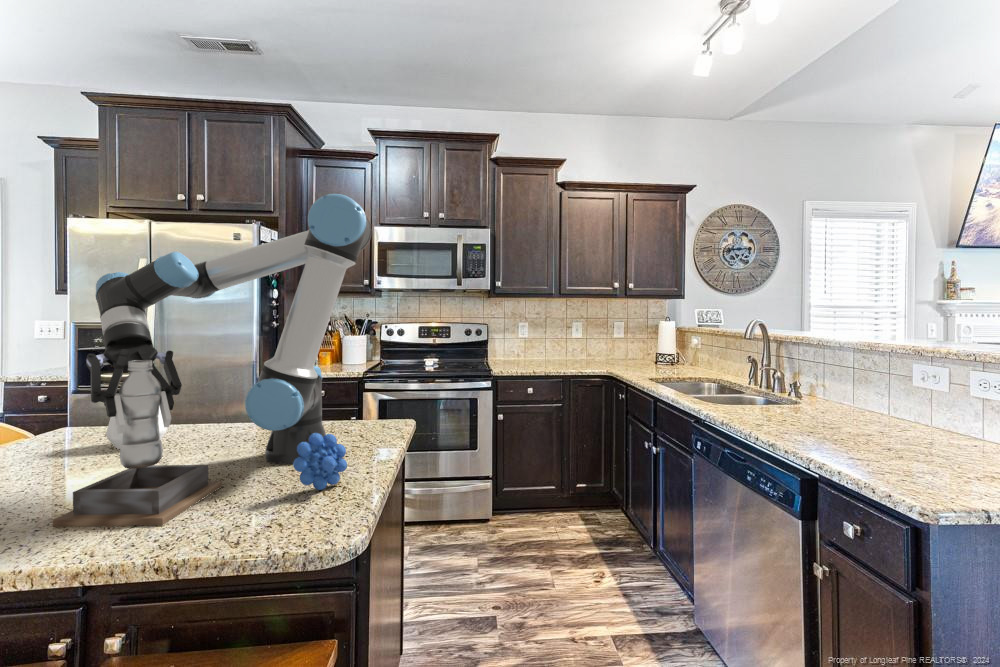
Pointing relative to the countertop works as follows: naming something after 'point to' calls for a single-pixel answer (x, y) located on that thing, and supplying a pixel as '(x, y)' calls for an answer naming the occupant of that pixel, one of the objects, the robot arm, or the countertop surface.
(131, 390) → the plastic bottle
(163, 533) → the countertop surface
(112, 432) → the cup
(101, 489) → the bottle dock
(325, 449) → the blue bumpy flower
